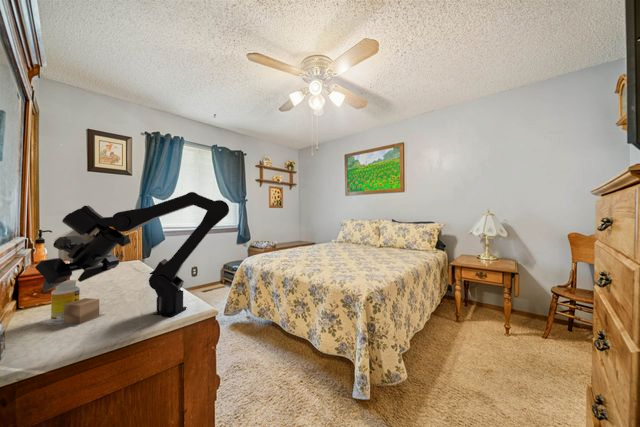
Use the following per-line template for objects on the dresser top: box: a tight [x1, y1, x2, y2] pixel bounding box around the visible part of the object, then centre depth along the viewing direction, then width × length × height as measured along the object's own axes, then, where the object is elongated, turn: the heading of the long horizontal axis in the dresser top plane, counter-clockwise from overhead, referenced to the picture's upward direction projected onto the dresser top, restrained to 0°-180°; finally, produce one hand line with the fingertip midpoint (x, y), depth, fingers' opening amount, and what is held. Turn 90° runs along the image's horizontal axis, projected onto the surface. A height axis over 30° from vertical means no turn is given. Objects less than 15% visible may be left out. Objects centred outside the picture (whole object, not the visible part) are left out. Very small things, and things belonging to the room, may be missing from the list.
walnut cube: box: [64, 297, 100, 325], centre depth 68 cm, size 5×5×5 cm
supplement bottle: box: [50, 279, 81, 321], centre depth 69 cm, size 6×6×10 cm
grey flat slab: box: [37, 313, 107, 328], centre depth 68 cm, size 12×8×1 cm, turn 82°
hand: (62, 285), depth 69 cm, fingers open, 9 cm apart
